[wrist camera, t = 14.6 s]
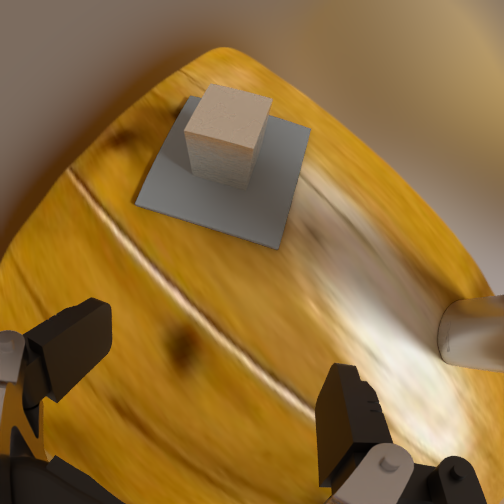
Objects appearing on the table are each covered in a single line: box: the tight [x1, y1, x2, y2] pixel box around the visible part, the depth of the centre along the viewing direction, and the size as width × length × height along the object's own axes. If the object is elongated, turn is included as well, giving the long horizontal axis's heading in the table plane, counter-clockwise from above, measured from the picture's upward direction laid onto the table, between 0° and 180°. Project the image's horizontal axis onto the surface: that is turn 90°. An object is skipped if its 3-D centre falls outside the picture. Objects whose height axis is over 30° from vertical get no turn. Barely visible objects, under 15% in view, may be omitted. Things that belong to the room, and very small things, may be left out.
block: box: [184, 84, 273, 191], centre depth 26 cm, size 6×6×8 cm
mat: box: [135, 96, 311, 250], centre depth 29 cm, size 16×16×3 cm
